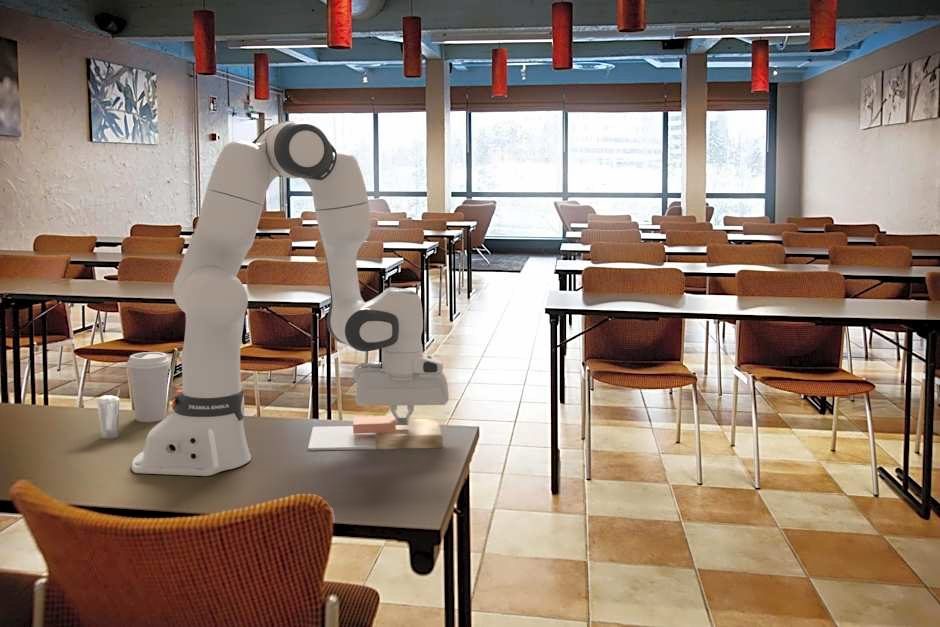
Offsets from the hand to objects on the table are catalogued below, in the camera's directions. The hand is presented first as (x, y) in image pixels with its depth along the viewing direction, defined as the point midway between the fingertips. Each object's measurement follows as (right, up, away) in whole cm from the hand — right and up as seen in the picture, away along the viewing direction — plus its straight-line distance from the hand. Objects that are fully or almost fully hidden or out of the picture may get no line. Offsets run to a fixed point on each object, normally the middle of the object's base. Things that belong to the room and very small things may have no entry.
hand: (401, 424), depth 198 cm
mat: (-13, -3, -1) cm, 13 cm away
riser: (+1, -3, +1) cm, 3 cm away
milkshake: (-63, -3, -1) cm, 63 cm away
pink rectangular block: (-6, -1, 0) cm, 6 cm away
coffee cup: (-59, 0, +13) cm, 61 cm away
